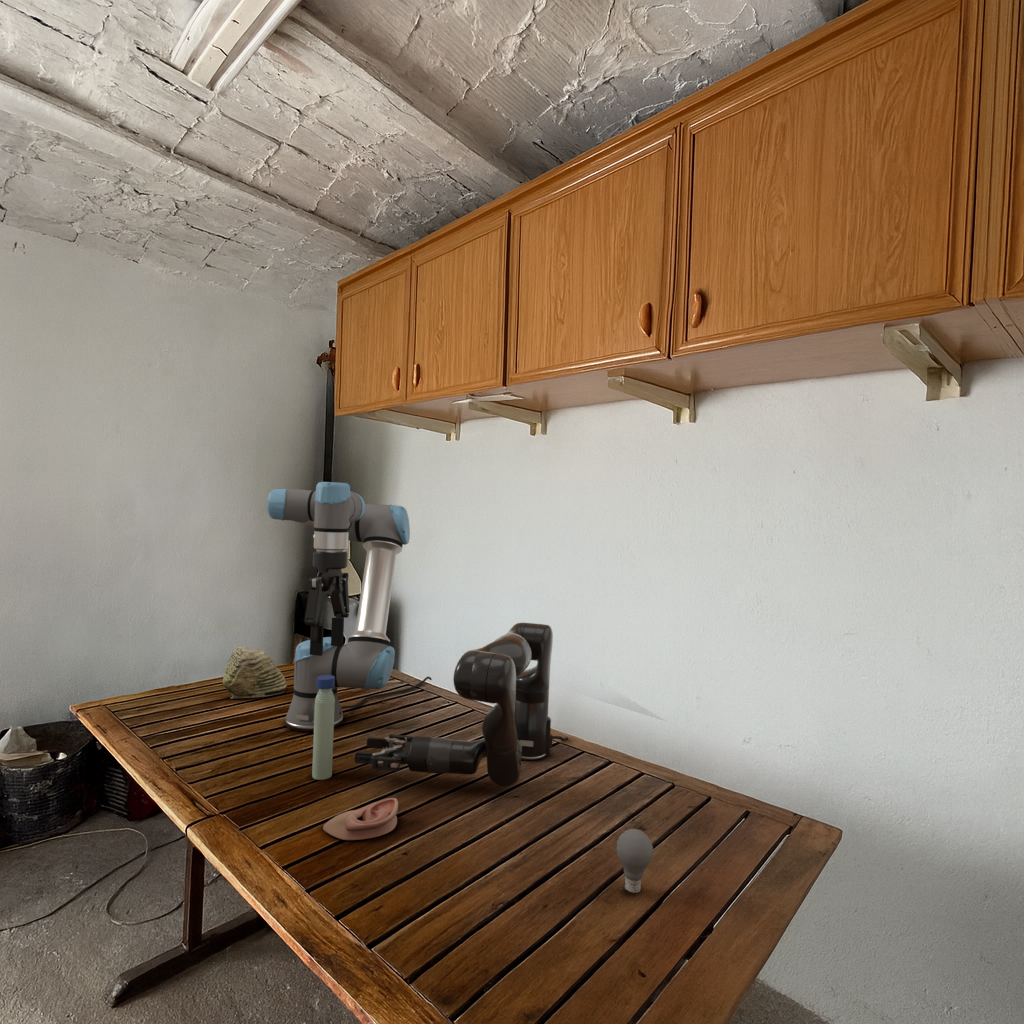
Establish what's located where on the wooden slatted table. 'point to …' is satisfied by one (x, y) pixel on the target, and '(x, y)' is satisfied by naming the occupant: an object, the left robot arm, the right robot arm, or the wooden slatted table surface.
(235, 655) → the fossil
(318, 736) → the bottle
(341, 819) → the anatomical model
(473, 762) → the right robot arm
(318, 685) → the cap
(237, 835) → the wooden slatted table surface
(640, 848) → the light bulb
